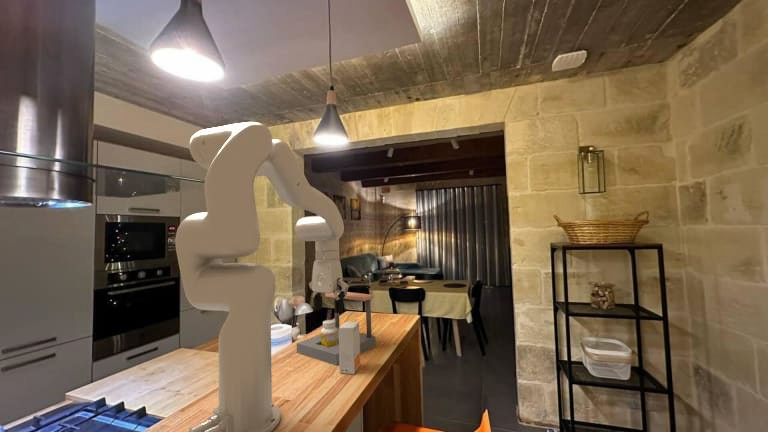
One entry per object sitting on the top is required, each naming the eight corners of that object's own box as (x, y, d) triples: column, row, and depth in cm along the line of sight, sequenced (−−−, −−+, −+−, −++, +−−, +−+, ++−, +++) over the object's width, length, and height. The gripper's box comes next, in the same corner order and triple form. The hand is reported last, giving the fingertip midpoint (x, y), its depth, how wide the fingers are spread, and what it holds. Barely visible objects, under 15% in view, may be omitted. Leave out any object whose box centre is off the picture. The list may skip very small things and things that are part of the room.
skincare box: (354, 374, 79) (353, 328, 80) (339, 373, 80) (337, 327, 80) (361, 364, 85) (359, 321, 86) (346, 364, 86) (345, 321, 86)
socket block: (336, 365, 85) (334, 306, 86) (296, 352, 96) (295, 300, 97) (376, 345, 99) (374, 294, 100) (337, 336, 110) (336, 290, 111)
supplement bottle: (339, 354, 93) (338, 322, 94) (322, 356, 91) (321, 324, 92) (337, 348, 98) (336, 318, 99) (320, 350, 97) (319, 320, 97)
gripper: (301, 257, 99) (301, 310, 97) (337, 257, 89) (338, 316, 87) (318, 256, 105) (319, 306, 103) (355, 255, 95) (356, 311, 93)
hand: (328, 310), depth 95 cm, fingers open, 9 cm apart
